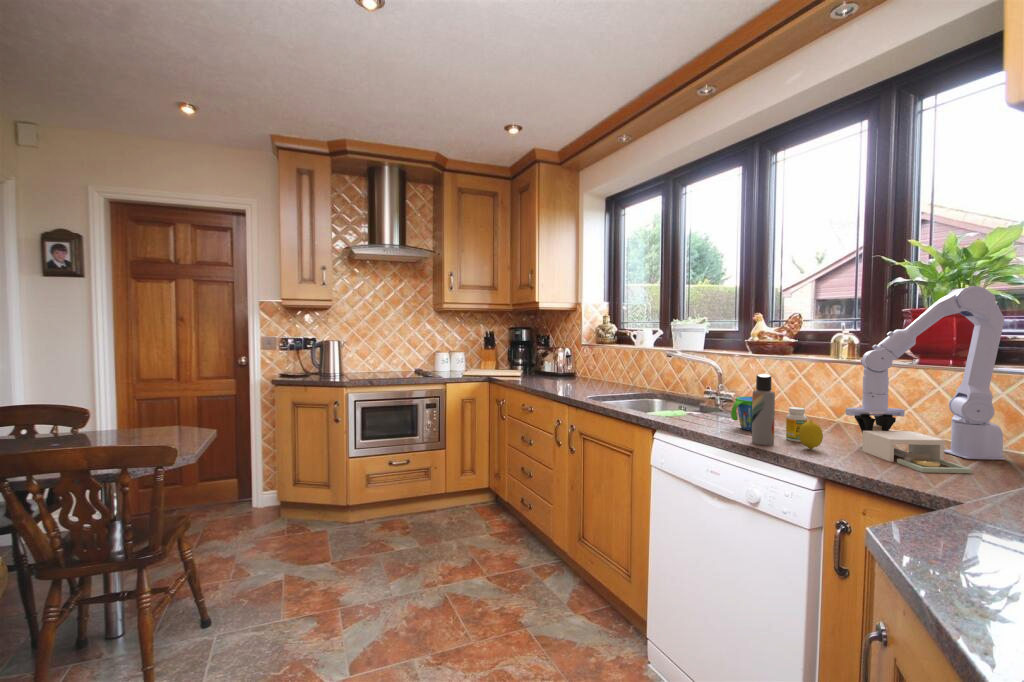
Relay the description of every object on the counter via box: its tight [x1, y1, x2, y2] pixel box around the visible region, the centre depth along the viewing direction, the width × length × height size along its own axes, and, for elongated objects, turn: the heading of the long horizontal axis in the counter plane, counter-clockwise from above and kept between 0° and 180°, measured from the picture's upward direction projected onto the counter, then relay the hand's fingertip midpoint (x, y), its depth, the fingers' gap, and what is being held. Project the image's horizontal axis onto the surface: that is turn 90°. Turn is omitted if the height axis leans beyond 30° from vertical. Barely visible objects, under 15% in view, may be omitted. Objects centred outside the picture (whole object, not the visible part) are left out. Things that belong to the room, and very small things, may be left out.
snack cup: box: [730, 396, 753, 432], centre depth 156 cm, size 16×10×10 cm
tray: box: [896, 458, 973, 474], centre depth 113 cm, size 11×8×1 cm
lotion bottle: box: [751, 373, 776, 447], centre depth 136 cm, size 6×6×20 cm
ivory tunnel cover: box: [861, 430, 946, 463], centre depth 123 cm, size 13×10×6 cm
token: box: [912, 458, 941, 467], centre depth 115 cm, size 5×5×1 cm
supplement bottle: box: [785, 406, 808, 443], centre depth 141 cm, size 5×5×10 cm
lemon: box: [799, 420, 824, 450], centre depth 130 cm, size 6×6×8 cm
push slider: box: [872, 423, 931, 463], centre depth 126 cm, size 18×6×6 cm, turn 177°
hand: (874, 441), depth 133 cm, fingers closed on push slider, 3 cm apart
